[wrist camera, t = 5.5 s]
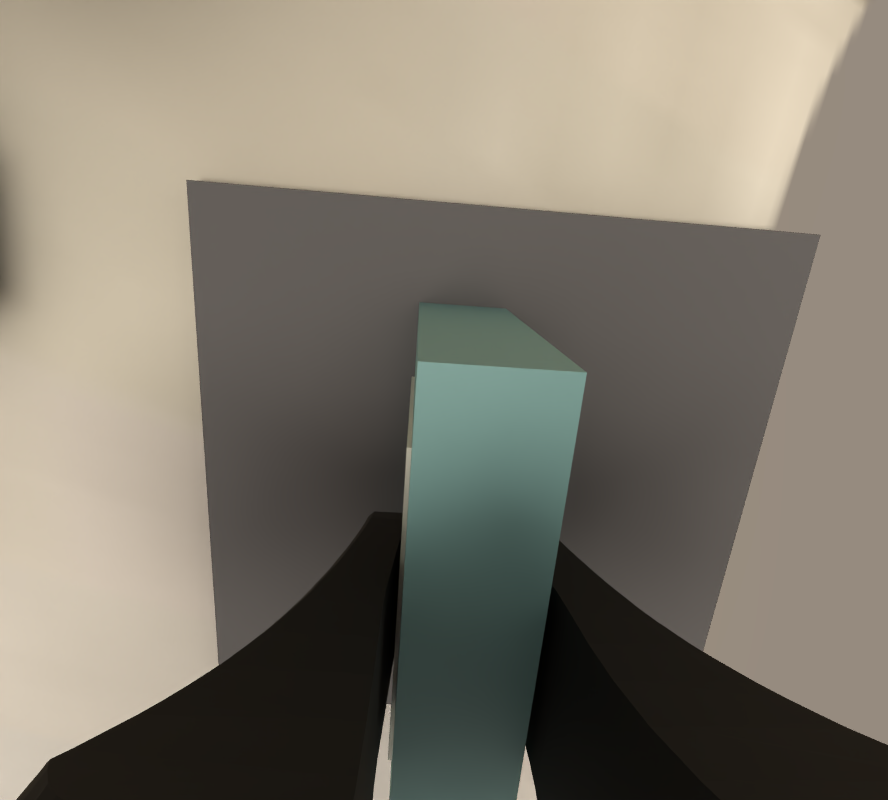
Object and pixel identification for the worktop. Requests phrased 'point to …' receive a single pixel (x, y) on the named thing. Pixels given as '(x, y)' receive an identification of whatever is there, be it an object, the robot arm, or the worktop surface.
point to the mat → (393, 365)
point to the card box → (477, 548)
